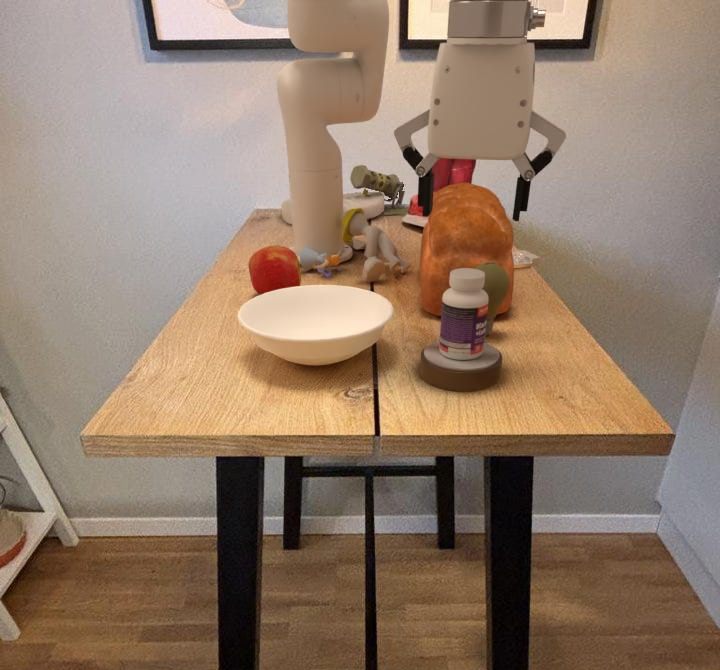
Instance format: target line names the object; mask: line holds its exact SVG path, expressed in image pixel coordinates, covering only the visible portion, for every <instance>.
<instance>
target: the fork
mask: <svg viewBox="0 0 720 670" xmlns="http://www.w3.org/2000/svg"><path fill="white" fill-rule="evenodd" d="M351 241H353V244H352V249H354V250H359V251H360V250H365V249H366V246H367V242H366V243H365V244H364V243H362V242H361V241H359V240H358V239H357V238H355V237H353V238H352V239H351Z"/></svg>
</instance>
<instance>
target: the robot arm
mask: <svg viewBox="0 0 720 670" xmlns="http://www.w3.org/2000/svg"><path fill="white" fill-rule="evenodd" d="M286 5H287V9H286V10H287V12H286V13H287V15H286V17H287V31H288V37H289V39H290V41H291V44H292V45H293V46H294V47H295V48H296V49H298V50H299V51H302V52H305V53H316V54H317V53H319V54H320V53H321V54H324V53H325V54H326V53H332V54H333V53H352V57H341V58H340V57H337V58H335V57H334V58H330V57H323V58H322V57H321V58H303V59H301V58H300V59H297V60H293V61H290V62H288V63H287V64H286V65H284V66H283V67H282V68H281V69H280V71H279V73H278V76H277V80H276V93H277V98H278V103H279V107H280V112H281V118H282V123H283V129H284V136H285V143H286V156H287V167H288V179H289V180H288V181H289V195H290V197H289V198H291V213H292V224H291V225H292V227H291V228H292V240H293V245H291V246H290V247H288V248H289V249H291V250H292V251H293V252H294V253H295V254H296V255H297V257H298V259H299V258H300V254H301V251H302V249H303V248H304V247H305V246H307V247H309V248H310V249H312V250H314V251H315V252H317V253H318V254H319V255H322V254H323V253H327V254H330V255H331V256H332V255H337V254H338V253H339V251H340V248H341V249H342V252H341V253H340V255H339V257H340V263H344V262H347V261H349V260H350V259H351V258H353V254H354V253H353V247H351V246H349V245H348V244H346V243H345V242H344V241H343V239H342V236H343V230H344V229H343V225H342V221H343V189H344V187H343V186H344V184H343V182H344V181H343V157H342V156H343V155H342V152H341V151H342V150H341V149H340V146H339V144H338V143H337V141H336V140H335V139H334V137H333V136H332V134H331V133H330V132H329V130H328V128H327V127H328V126H331V125H342V124H343V125H344V124H357V123H365V122H369V121H370V120H372V119H373V118H375V116H376V115H377V113H378V112H379V108H380V105H381V100H382V94H383V84H384V75H385V66H386V60H387V59H386V58H387V52H388V51H387V49H388V41H389V33H390V31H389V30H390V9H389V3H388V0H287V1H286ZM546 13H547V9H539V8H538V7H535V6H534V5H532V1H531V0H449V2H448V13H447V15H448V16H447V29H446V30H447V32H446V33H447V34H446V42H440V43H439V47H438V51H437V55H436V61H435V66H434V73H433V77H432V78H433V79H432V84H431V85H432V87H431V94H430V103H429V104H430V105H429V109H427V110H425V111H423V112H422V113H420V114H418V115H416V116H414V117H412V118H411V119H409V120H407V121H406V122H404V123H402V124H400V125H398V126H397V127H396V128H395V129H394V130H393V136H394V138H395V140H396V142H397V145H398V147H399V150H400V151H401V153H402V157H403V159H404V160H405V162H407V163H408V165H409V166H410V167H411V168H412V169H413V171H414V173H415V175H416V176H417V177H418V180H417V181H418V182H417V183H418V184H417V195H418V207H423V214H422V215H423V217H428V216H429V215H430V214H431V212H432V209H433V191H434V174H433V172H432V166H433V165H434V164H435V163H436V162H437V161H438V159H439V158H450V159H476V160H483V161H484V160H485V161H512V163H513V164H514V166H515V167H516V169H517V171H518V172H519V176H517V179H516V187H515V194H514V195H515V196H514V203H513V211H512V221H514V222H520V216H521V212H526V213H527V212H528V208H529V207H528V205H529V200H530V193H531V192H530V191H531V184H532V181H533V180H534V178H535V177H536V176H538V174H539V173H541V172H542V171H543V170H544V169H545V168H546V167H547V166H548V165H550V163H551V162H552V161H553V159H554V157H555V156H556V155H557V153H558V152H559V150H560V148H561V147H562V145H563V143H564V142H565V140H566V138H567V134H566V131H565V130H564V129H562V128H561V127H559V126H557V125H556V124H554V123H553V122H552V121H550V120H548V119H547V118H545V117H544V116H543V115H541V114H539V113H537V112H536V111H535V110H533V106H534V105H533V104H534V103H533V102H534V93H535V92H534V91H535V80H536V79H535V77H536V76H535V75H536V52H535V51H536V50H535V49H536V48H535V43H534V42H528V33H529V32H531V31H532V30H536V29H537V28H545V24H546V23H545V22H546ZM426 127H427V149H428V152H427V153H426V154H425V156H423V155H422V154H421V153H420V151H419V150H418V149H417V148H416V146H415V145H414V143H413V140H412V135H413V134H415V133H417V132H418V131H421V130H422V129H424V128H426ZM531 129H532V130H534V131H535V132H537V133H539V134H541V135H542V136H543V137H545V138H546V139H547V143H546V144H545V146H544V148H543V149H542V151H540V153H538V154H537V155H536V156H535V157H534V158H533V159H532V160H531V158H530V157H529V156H528V154H527V152H526V151H527V146H528V143H529V139H530V134H531ZM330 255H328V256H329V257H330ZM340 263H339V264H340ZM322 264H323V263H322ZM319 265H321V262H319V263H318V264H317V265H316V266H319Z"/></svg>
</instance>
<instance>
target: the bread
mask: <svg viewBox="0 0 720 670" xmlns="http://www.w3.org/2000/svg"><path fill="white" fill-rule="evenodd" d="M420 241H421V242H420V251H419V252H420V253H419V255H420V256H419V283H420V302H421V305H422V308H423V310H424V311H425V312H428V313H429V314H431V315H433V316H435V317H441V313H442V298H443V294H444V292H445V291H446V290H447V289H449V288H451V286H450V285H449V280H450V272H451V271H452V270H455V269H461V268H472V269H475V268H476V267H477V266H479V265H481V264H483V263H488V262H491V263H496V264H498V265H500V266H501V267H502V268H503V269H504V270H505V271H506V273H507V275H508V278H509V289H508V293H507V295H506V297H505V299H504V300H503V302H502V303H501V305H500V307H499V309H498V311H497V314H496V316H497V315H501V314H503V313H506V312H507V311H508V310H509V309H510V307H511V305H512V299H513V292H514V286H515V285H514V284H515V281H514V280H515V278H514V277H515V268H514V260H513V255H512V253H513V246H514V228H513V224H512V222H511V221H510V219H509V217H508V216H507V212H506V208H505V206H504V205H503V204H502V203H501V201H500V198H499V197H498V196H497V194H495V193H494V192H493V191H491V189H489V188H487V187H484V186H482V185H478V184H473V183H472V184H471V183H460V184H454V185H449V186H447V187H445V188H442V189H441V190H439V191H437V192H436V193H435V194H434V195H433V209H432V212H431V214H430V215H429V216H428V222H427V223H426V224H425V226H424V227H423V231H422V235H421V240H420Z"/></svg>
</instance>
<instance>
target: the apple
mask: <svg viewBox="0 0 720 670" xmlns="http://www.w3.org/2000/svg"><path fill="white" fill-rule="evenodd" d="M289 248H290V247H286V246H281V245H267V246H265V247H263V248H261V249H258V250H257V251H255V252H254V253H253V254H252V255H251V256H250V258H249V259H248V264H247V265H248V271H249V276H250V282H251V286H252V288H253V290H254V292H256V293H257V294H258V295H262V294H264V293H267V292H271V291H274V290H278V289H283V288H289V287H295V286H301V283H302V273H301V264H299V260H298V257H297V255H296V254H295V253H294V252H293V251H292V250H291V249H289Z"/></svg>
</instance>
